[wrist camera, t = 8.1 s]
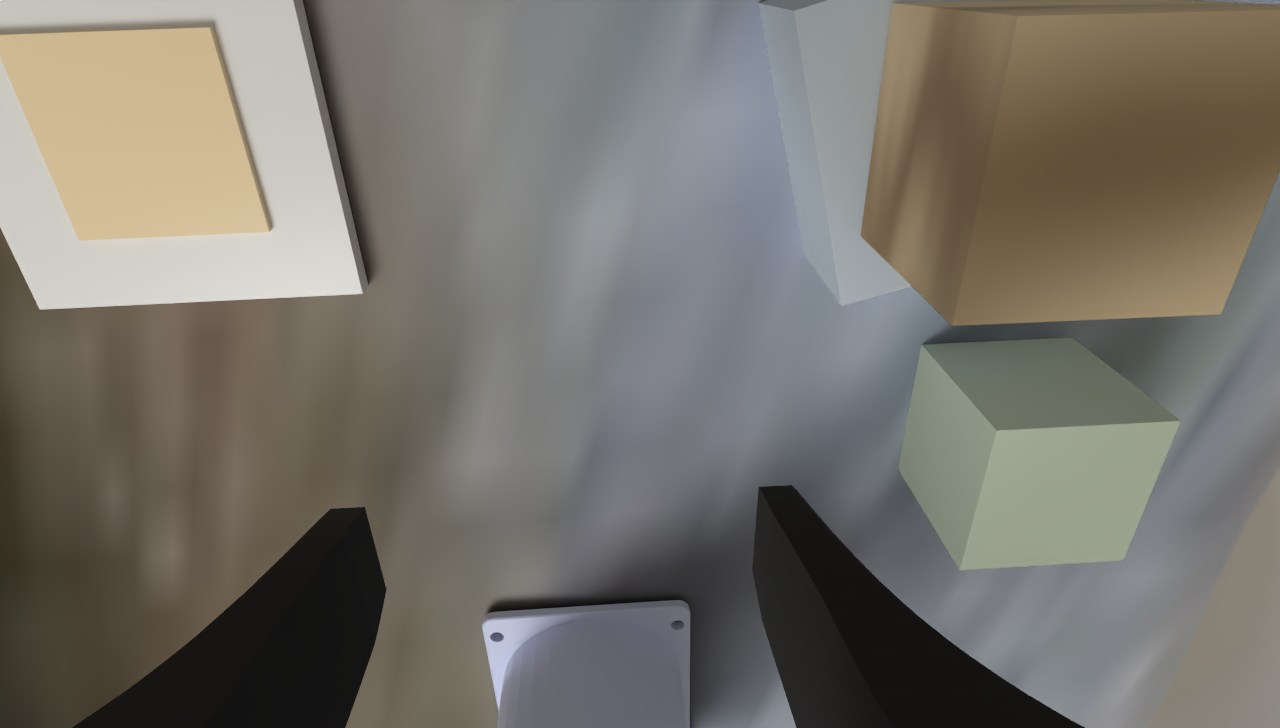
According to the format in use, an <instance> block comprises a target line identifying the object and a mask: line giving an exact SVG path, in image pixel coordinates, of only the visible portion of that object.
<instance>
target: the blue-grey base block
mask: <svg viewBox="0 0 1280 728" xmlns="http://www.w3.org/2000/svg"><path fill="white" fill-rule="evenodd" d="M965 1H1008V0H767V1H764V2H761V3H759V9H760V14H761V20H762V25H763V31H764V36H765V42H766V47H767V53H768V59H769V64H770V70H771V75H772V81H773V86H774V92H775V97H776V103H777V108H778V114H779V119H780V125H781V130H782V136H783V141H784V147H785V152H786V158H787V163H788V169H789V174H790V180H791V185H792V191H793V196H794V202H795V207H796V213H797V218H798V224H799V229H800V235H801V240H802V246H803V251H804V256H805V257H806V258H807V260H808V261H809V262H810V264H811V265H812V267H813V268H814V269H815V271H816V272H817V273H818V275H819V276H820V278H821V279H822V280H823V282H824V283H825V285H826V286H827V287H828V289H829V290H830V291H831V293H832V294H833V296H834V297H835V298H836V300H837V301H838V302H839V304H840V305H841V306H845V305H848V304H852V303H856V302H859V301H863V300H866V299H870V298H874V297H877V296H881V295H884V294H888V293H892V292H895V291H899V290H902V289H906V288H910V287H912V286H911V285H910V284H909V283H908V282H907V281H906V280H905V279H904V278H903V277H902V276H901V275H900V274H899V273H898V272H897V271H896V270H895V269H894V268H893V267H892V266H891V265H890V264H889V263H888V262H886V261H885V260H884V259H883V258H882V257H881V256H880V255H879V254H878V253H877V252H876V251H875V250H874V249H873V248H872V247H871V246H870V245H869V244H868V243H867V242H866V241H865V240H864V239H863V238H862V237H861V228H862V221H863V213H864V206H865V198H866V191H867V184H868V176H869V169H870V161H871V154H872V147H873V139H874V132H875V124H876V117H877V110H878V102H879V95H880V87H881V80H882V73H883V65H884V58H885V50H886V43H887V36H888V28H889V21H890V13H891V6H892V3H922V2H965Z"/></svg>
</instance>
